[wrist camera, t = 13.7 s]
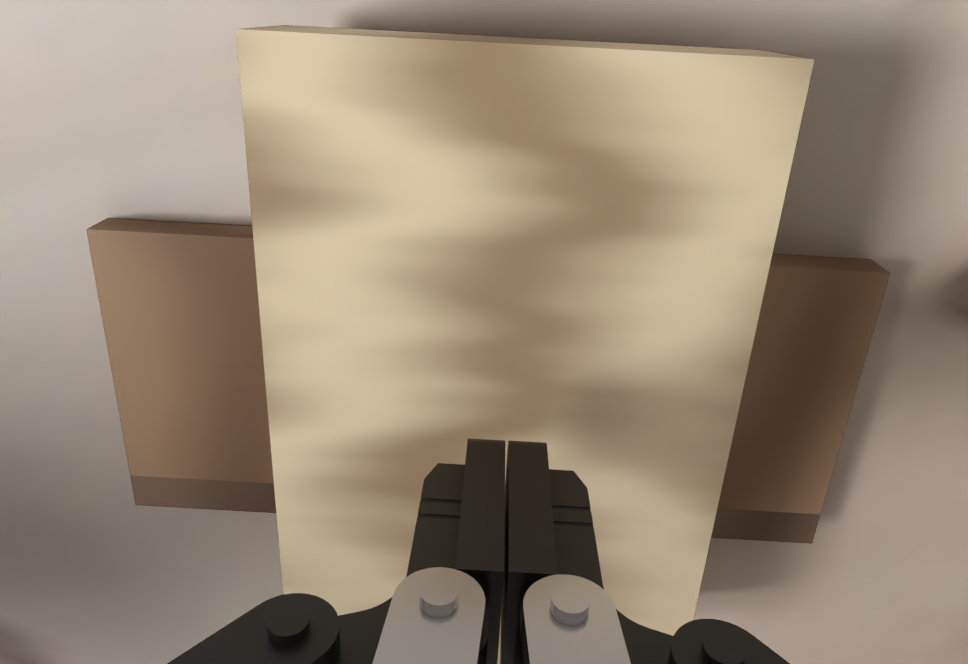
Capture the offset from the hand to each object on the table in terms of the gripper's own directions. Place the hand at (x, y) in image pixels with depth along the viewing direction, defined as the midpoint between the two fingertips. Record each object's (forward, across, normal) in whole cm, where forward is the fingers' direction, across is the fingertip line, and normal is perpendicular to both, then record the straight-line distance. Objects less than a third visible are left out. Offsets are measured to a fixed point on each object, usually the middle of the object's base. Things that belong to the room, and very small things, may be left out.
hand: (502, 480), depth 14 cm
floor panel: (+6, +1, +1) cm, 6 cm away
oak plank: (+4, 0, +8) cm, 9 cm away
